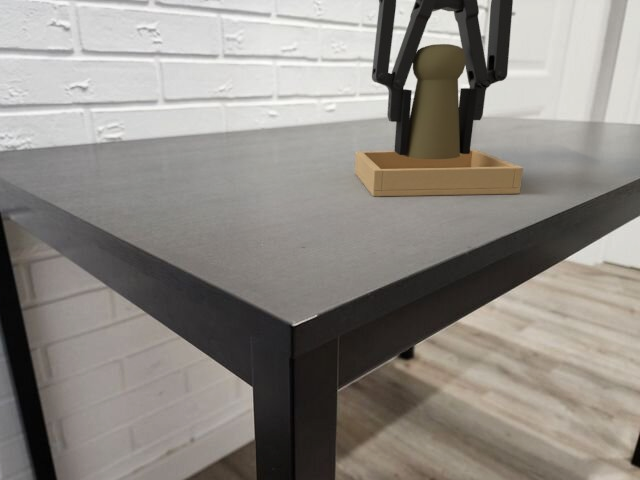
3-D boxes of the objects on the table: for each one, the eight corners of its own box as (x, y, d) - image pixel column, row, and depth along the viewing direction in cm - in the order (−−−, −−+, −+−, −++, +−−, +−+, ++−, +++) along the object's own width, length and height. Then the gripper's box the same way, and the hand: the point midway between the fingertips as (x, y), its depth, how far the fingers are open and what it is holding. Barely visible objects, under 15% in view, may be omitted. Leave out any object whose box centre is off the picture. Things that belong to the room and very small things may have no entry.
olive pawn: (464, 159, 53) (477, 42, 49) (404, 159, 53) (412, 44, 50) (455, 150, 58) (466, 45, 54) (400, 150, 59) (407, 46, 55)
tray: (473, 170, 63) (476, 149, 62) (519, 193, 51) (523, 167, 50) (354, 173, 63) (355, 151, 62) (373, 196, 51) (374, 170, 50)
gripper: (536, -92, 51) (503, 146, 59) (346, -89, 51) (340, 149, 59) (578, -118, 44) (534, 156, 52) (357, -114, 44) (348, 159, 52)
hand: (431, 152), depth 56 cm, fingers closed on olive pawn, 6 cm apart
